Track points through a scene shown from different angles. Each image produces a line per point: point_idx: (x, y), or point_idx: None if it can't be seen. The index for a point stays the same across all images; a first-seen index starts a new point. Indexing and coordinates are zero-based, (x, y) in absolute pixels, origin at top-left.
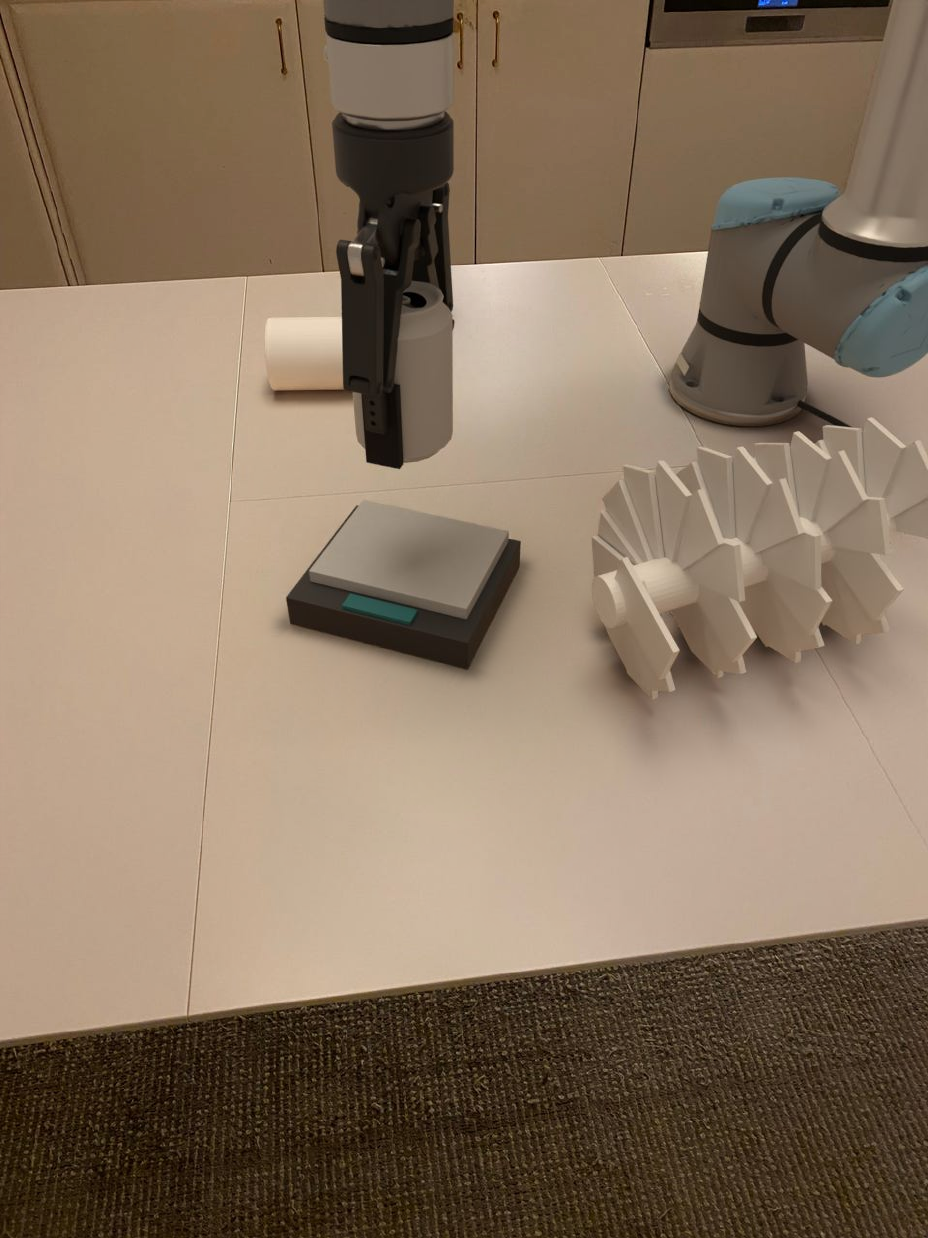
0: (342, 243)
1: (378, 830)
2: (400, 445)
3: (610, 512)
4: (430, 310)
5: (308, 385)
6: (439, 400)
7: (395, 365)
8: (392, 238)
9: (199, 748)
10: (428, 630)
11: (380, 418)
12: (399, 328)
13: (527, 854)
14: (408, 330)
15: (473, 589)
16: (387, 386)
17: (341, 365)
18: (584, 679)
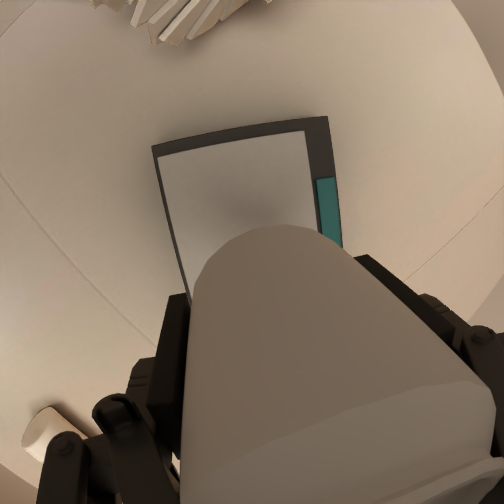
0: None
1: (453, 118)
2: (379, 271)
3: (154, 10)
4: (472, 467)
5: (83, 435)
6: (335, 262)
7: (476, 365)
8: None
9: (444, 252)
10: (330, 157)
11: (448, 310)
12: (496, 438)
13: (426, 30)
14: (491, 425)
15: (273, 138)
16: (494, 332)
17: (58, 431)
18: (274, 27)
